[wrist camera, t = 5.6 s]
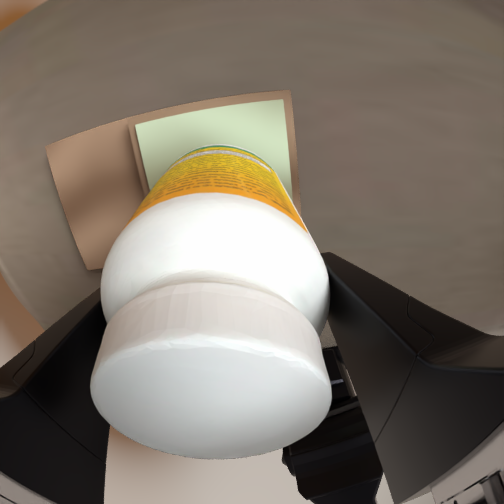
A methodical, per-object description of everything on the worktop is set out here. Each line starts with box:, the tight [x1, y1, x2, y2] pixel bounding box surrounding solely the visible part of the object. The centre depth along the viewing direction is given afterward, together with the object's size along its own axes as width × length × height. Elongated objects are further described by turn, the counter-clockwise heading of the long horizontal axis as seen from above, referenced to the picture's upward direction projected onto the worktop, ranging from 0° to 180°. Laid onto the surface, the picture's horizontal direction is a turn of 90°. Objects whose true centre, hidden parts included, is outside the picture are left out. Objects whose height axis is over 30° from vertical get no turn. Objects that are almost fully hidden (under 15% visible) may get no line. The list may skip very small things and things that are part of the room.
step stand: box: [45, 90, 301, 270], centre depth 18 cm, size 10×16×3 cm, turn 97°
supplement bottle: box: [90, 144, 332, 459], centre depth 10 cm, size 6×6×11 cm
